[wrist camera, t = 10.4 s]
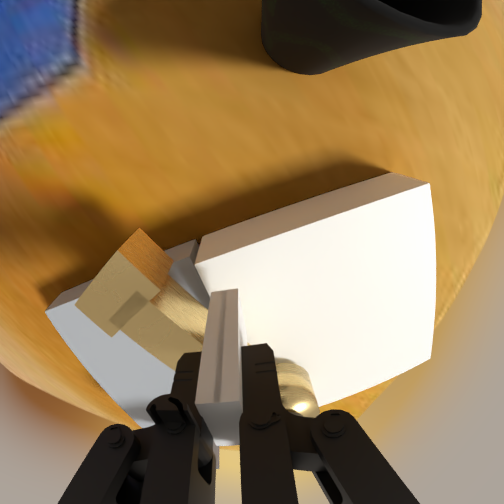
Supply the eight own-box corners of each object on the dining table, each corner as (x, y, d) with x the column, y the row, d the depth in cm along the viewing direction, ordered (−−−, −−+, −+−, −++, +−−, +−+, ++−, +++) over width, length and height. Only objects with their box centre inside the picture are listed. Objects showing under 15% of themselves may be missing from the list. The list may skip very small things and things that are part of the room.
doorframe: (61, 292, 20) (4, 361, 11) (392, 172, 18) (484, 202, 9) (147, 406, 25) (132, 478, 17) (407, 328, 23) (456, 394, 15)
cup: (339, 108, 16) (476, 86, 5) (227, 65, 15) (219, -48, 3) (369, 24, 13) (481, -40, 2) (268, -19, 12) (304, -136, 1)
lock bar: (272, 410, 19) (277, 442, 16) (95, 278, 14) (72, 307, 11) (321, 382, 18) (332, 414, 15) (142, 224, 13) (120, 246, 10)
